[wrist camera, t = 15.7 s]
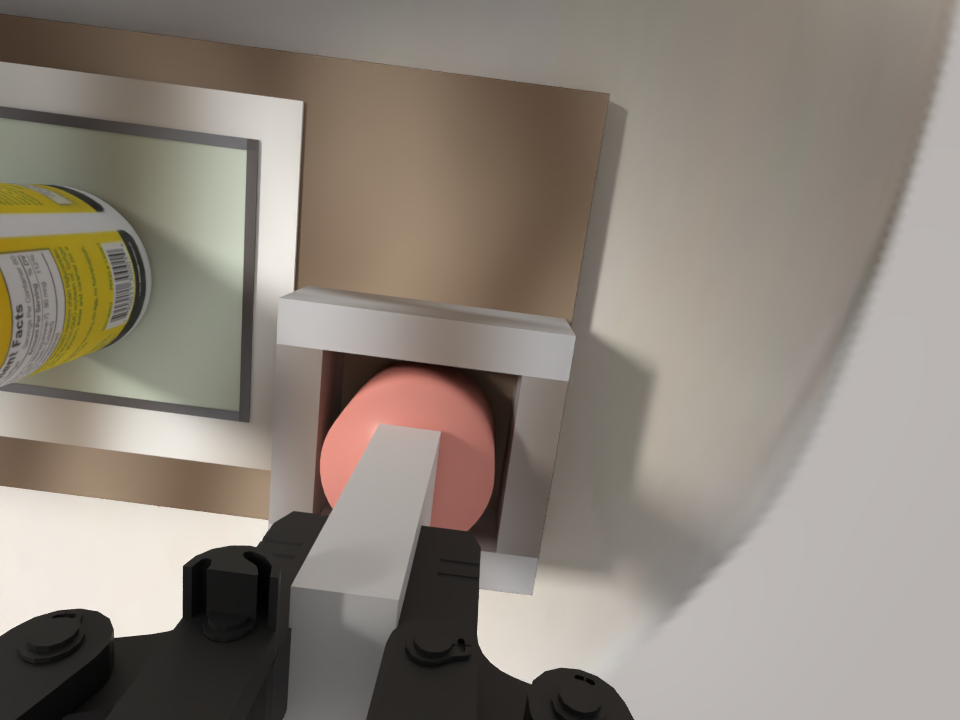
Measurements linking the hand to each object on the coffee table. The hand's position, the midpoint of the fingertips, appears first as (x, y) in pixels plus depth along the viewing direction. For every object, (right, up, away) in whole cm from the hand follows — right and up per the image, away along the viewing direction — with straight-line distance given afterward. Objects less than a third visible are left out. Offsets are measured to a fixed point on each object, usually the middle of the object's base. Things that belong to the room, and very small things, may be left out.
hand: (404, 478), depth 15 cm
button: (0, +1, +3) cm, 3 cm away
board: (-5, +5, +4) cm, 8 cm away
